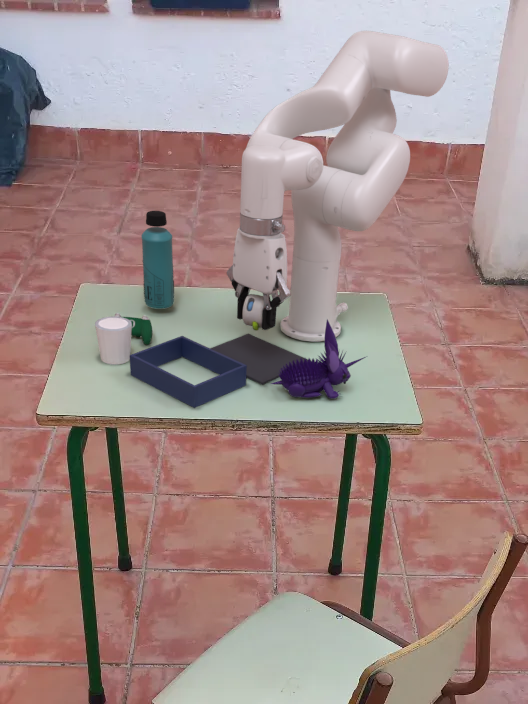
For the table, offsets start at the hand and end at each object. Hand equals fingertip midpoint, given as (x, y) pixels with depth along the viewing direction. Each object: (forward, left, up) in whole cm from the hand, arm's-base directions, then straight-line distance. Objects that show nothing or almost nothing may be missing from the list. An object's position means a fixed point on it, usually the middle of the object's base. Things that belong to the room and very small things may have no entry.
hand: (256, 321), depth 170 cm
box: (+16, -2, -8) cm, 18 cm away
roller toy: (0, 0, -1) cm, 1 cm away
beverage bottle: (-2, -30, -8) cm, 31 cm away
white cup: (+20, -18, -8) cm, 28 cm away
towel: (0, 0, -8) cm, 8 cm away
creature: (+1, +17, -8) cm, 19 cm away
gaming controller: (+12, -23, -8) cm, 27 cm away
